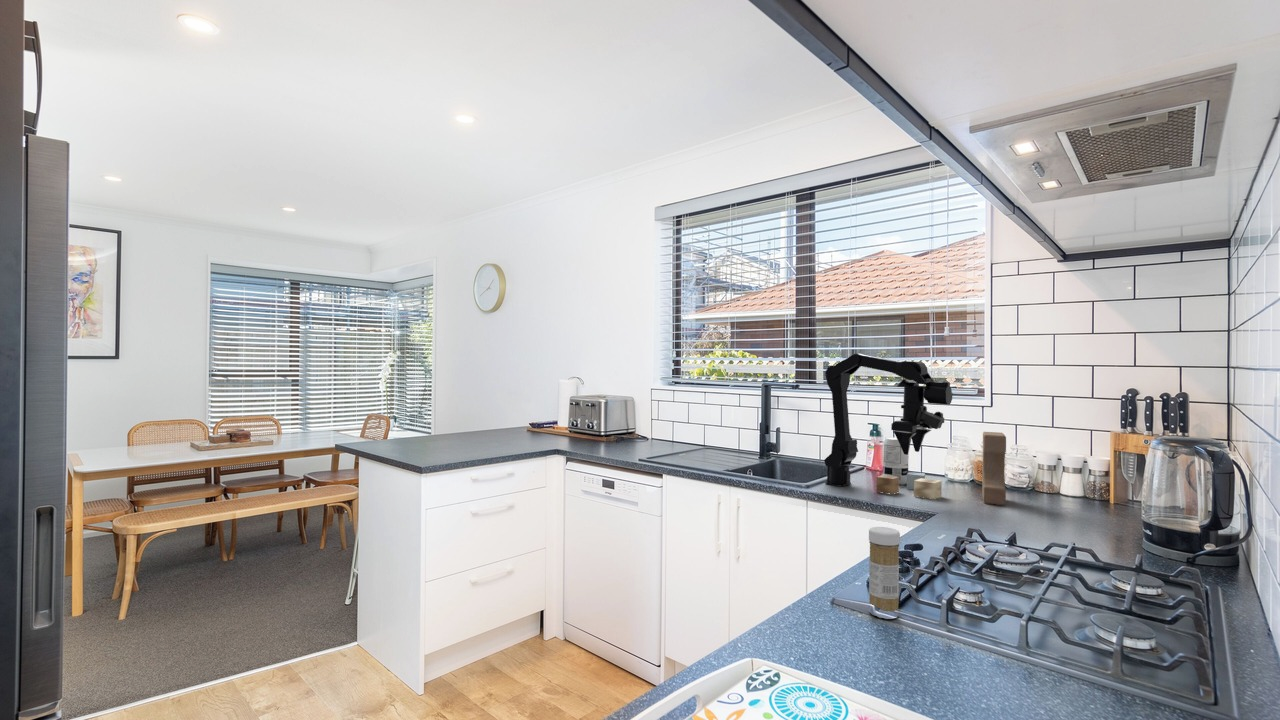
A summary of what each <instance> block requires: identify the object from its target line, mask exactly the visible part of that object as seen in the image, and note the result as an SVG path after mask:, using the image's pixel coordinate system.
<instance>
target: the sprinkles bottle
mask: <svg viewBox="0 0 1280 720" xmlns="http://www.w3.org/2000/svg"><path fill="white" fill-rule="evenodd" d="M900 540H901V533H900V530H897V529H895V528H892V527H888V526H887V527H886V526H873V527H870V528H869V529H868V541H869V559H868V560H869V564H868V565H869V567H868V569H869V571H868V572H869V573H868V577H869V579H868V581H869V582H868V583H869V584H868V592H869V599H868V600H869V603H870V604H872V605H874V606H876V607H878V608H880V609H881V610H883V611H895V610H898V611H899V593H900V591H899V589H900V586H899V585H900V581H899V580H900V576H899V575H900V574H899V572H900V569H899V568H900V567H899V566H900V565H899V564H900V563H899V561H900V560H899V557H900V556H899V549H900V548H899V547H900V543H901V541H900Z"/></svg>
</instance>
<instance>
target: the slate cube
mask: <svg viewBox="0 0 1280 720" xmlns="http://www.w3.org/2000/svg"><path fill="white" fill-rule="evenodd" d="M920 478H923V479H926V473H925V472H924V473H923V472H914V471H908V473H907V483H906V490H908V489H914V480H917V479H920Z"/></svg>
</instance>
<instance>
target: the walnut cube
mask: <svg viewBox="0 0 1280 720" xmlns="http://www.w3.org/2000/svg"><path fill="white" fill-rule="evenodd" d="M899 489H900V484H899V477H895V476H887V475H882V474H881V475H879V476H876V493H877V492H883V493H890V494H894V493H897V492H899V493H900V490H899ZM883 493H882V494H883ZM897 494H898V493H897ZM894 495H895V494H894Z"/></svg>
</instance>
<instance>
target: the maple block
mask: <svg viewBox="0 0 1280 720" xmlns="http://www.w3.org/2000/svg"><path fill="white" fill-rule="evenodd" d="M942 482H943V481H942V480H937V479H929V478H925V479H923V478H920V479H917V480H914V490H913V497H914V496H918V497H917V498H920V497H924V498H923V499H926V498H931V499H930V500H933V499H935V500H937V499H936V498H938V499H940V498H942V488H943V487H942V484H943V483H942ZM939 497H940V498H939Z"/></svg>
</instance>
